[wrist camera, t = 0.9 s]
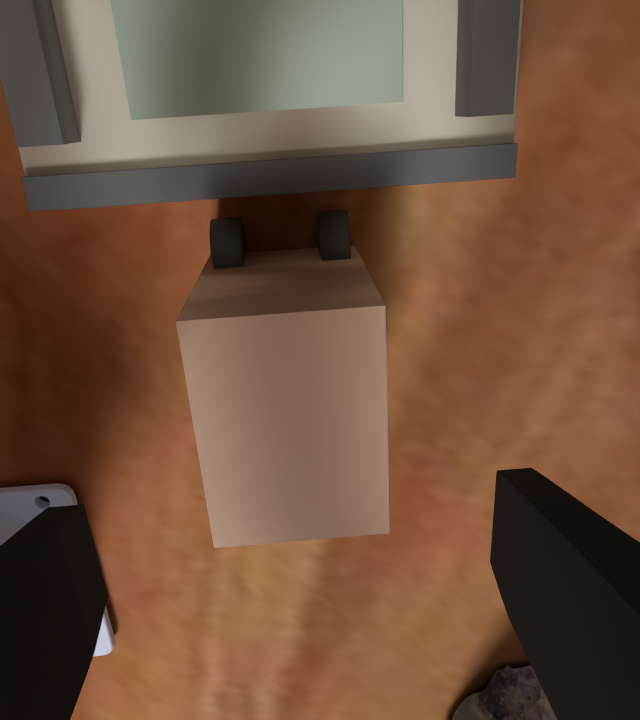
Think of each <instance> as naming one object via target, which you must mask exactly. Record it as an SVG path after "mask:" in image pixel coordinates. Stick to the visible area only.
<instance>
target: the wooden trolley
mask: <svg viewBox="0 0 640 720" xmlns="http://www.w3.org/2000/svg"><path fill="white" fill-rule="evenodd" d="M317 226H318V243H319V247H318V248H304V249H290V250H277V251H263V252H249V253H246V244H245V236H244V229H243V224H242V220H241V217H237V218H223V219H212V220H211V222H210V247H211V255H210V257H209V259H208V261H207V262H206V264H205V266H204V268H203V270H202V272H201V274H200V276H199V278H198V280H197V282H196V284H195V285H194V287H193V289H192V291H191V293H190V295H189V297H188V299H187V301H186V303H185V305H184V307H183V309H182V310H181V312H180V314H179V316H178V318H177V320H176V326H177V332H178V337H179V343H180V349H181V355H182V361H183V367H184V373H185V379H186V385H187V391H188V397H189V402H190V408H191V414H192V420H193V426H194V432H195V438H196V444H197V450H198V456H199V461H200V467H201V473H202V479H203V485H204V491H205V497H206V503H207V509H208V515H209V521H210V526H211V532H212V538H213V544H214V548H221V547H232V546H244V545H256V544H268V543H279V542H291V541H303V540H315V539H326V538H338V537H350V536H362V535H373V534H385V533H389V476H388V419H387V361H386V306H385V304H384V302H383V300H382V298H381V296H380V294H379V292H378V290H377V288H376V286H375V284H374V282H373V280H372V278H371V276H370V274H369V272H368V270H367V268H366V266H365V264H364V262H363V260H362V258H361V256H360V254H359V252H358V250H357V248H356V246H355V245H350V233H349V223H348V216H347V211H346V210H335V211H321V212H317Z"/></svg>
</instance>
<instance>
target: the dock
mask: <svg viewBox="0 0 640 720" xmlns="http://www.w3.org/2000/svg"><path fill="white" fill-rule="evenodd" d="M522 14H523V0H0V79H1V83H2V87H3V91H4V95H5V99H6V103H7V107H8V111H9V115H10V119H11V123H12V127H13V131H14V135H15V139H16V143H17V147H18V149H19V153H20V157H21V161H22V165H23V169H24V173H25V177H22V178H21V179H22V183H23V187H24V191H25V195H26V199H27V202H28V206H29V210H30V212H34V211H48V210H62V209H76V208H91V207H105V206H119V205H133V204H147V203H162V202H176V201H190V200H204V199H218V198H233V197H247V196H261V195H275V194H289V193H303V192H318V191H332V190H346V189H360V188H374V187H389V186H403V185H417V184H431V183H445V182H460V181H474V180H488V179H502V178H515V174H516V159H517V145H518V143H514V134H515V119H516V104H517V89H518V74H519V59H520V44H521V29H522Z"/></svg>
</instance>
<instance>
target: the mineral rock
mask: <svg viewBox="0 0 640 720" xmlns="http://www.w3.org/2000/svg"><path fill="white" fill-rule="evenodd" d="M452 720H557V718H556V716H555V714H554V712H553V710H552V708H551V706H550V704H549V702H548V699H547V697H546V695H545V693H544V691H543V689H542V687H541V685H540V683H539V681H538V679H537V676H536V674H535V672H534V670H533V668H532V666H526V667H521V668H516V669H513V668H511V667H509V666H508V665H506V666H505V668H504V669H499V670H497V671H496V672H495V673H494V674H493V676H492V677H491V679H490V680H489V682H488V684H487V686H486V688H485V689H484V690H482V691H481V692H478V693H475V694H472V695H470V696H468V697H466V698H465V699H464V700H463V701H462V702H461V704H460V705H459V706H458V708H457V709H456V711H455V713H454V716H453V718H452Z"/></svg>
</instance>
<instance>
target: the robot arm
mask: <svg viewBox="0 0 640 720" xmlns="http://www.w3.org/2000/svg"><path fill="white" fill-rule="evenodd" d="M39 496H44V497H46V498H48V499H49V502H46V501H43V500H41V498H40V497H39ZM490 563H491V566H492V569H493V572H494V575H495V579H496V582H497V585H498V588H499V591H500V594H501V597H502V600H503V603H504V605H505V608H506V611H507V614H508V617H509V619H510V621H511V623H512V626H513V628H514V630H515V632H516V634H517V636H518V638H519V641H520V643H521V645H522V647H523V649H524V651H525V653H526V655H527V658H528V660H529V662H530V664H531V666H532V668H533V670H534V672H535V674H536V676H537V679H538V681H539V683H540V685H541V687H542V689H543V691H544V693H545V695H546V697H547V699H548V702H549V704H550V706H551V708H552V710H553V712H554V714H555V716H556V718H557V720H640V542H638V541H637V540H635V539H634V538H632V537H631V536H629V535H628V534H626V533H625V532H623V531H622V530H620V529H619V528H617V527H616V526H614V525H613V524H611V523H610V522H609V521H607V520H606V519H604V518H603V517H601V516H600V515H598V514H597V513H596V512H594V511H593V510H591V509H590V508H588V507H587V506H586V505H584V504H583V503H581V502H580V501H579V500H577V499H576V498H574V497H573V496H572V495H570V494H569V493H567V492H566V491H564V490H563V489H562V488H560V487H559V486H557V485H556V484H555V483H553V482H552V481H550V480H549V479H547V478H546V477H544V476H543V475H542V474H540V473H538V472H537V471H535V470H534V469H532V468H523V469H511V470H499V471H497V475H496V489H495V503H494V516H493V530H492V544H491V557H490ZM107 596H108V594H107V590H106V586H105V582H104V579H103V575H102V571H101V568H100V564H99V560H98V556H97V553H96V549H95V545H94V542H93V538H92V534H91V530H90V527H89V523H88V519H87V515H86V512H85V508H84V504H82V505H78V503H77V500H76V496H75V493H74V491H73V490H72V489H71V488H70V487H69V486H67V485H65V484H59V483H55V484H43V485H30V486H18V487H6V488H0V720H70V718H71V716H72V713H73V710H74V708H75V705H76V702H77V700H78V697H79V694H80V691H81V689H82V686H83V683H84V680H85V678H86V675H87V672H88V669H89V667H90V664H91V661H92V658H93V656H101V655H106V654H108V653H110V652H111V651H112V649H113V647H114V644H115V637H114V633H113V630H112V626H111V623H110V619H109V615H108V612H107V608H106V601H107Z"/></svg>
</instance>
